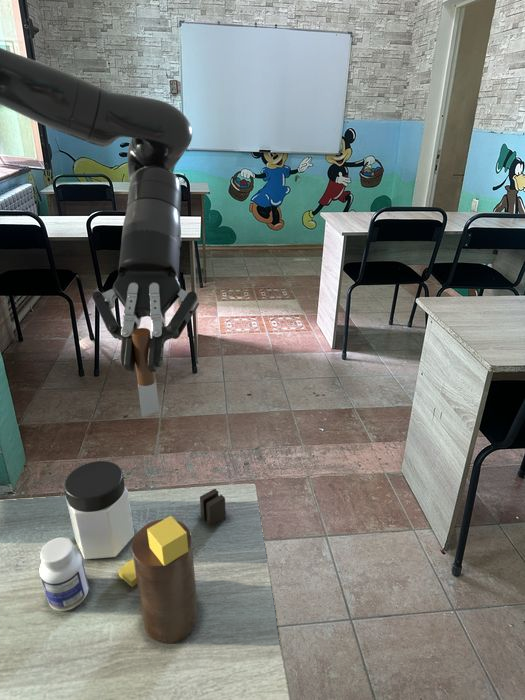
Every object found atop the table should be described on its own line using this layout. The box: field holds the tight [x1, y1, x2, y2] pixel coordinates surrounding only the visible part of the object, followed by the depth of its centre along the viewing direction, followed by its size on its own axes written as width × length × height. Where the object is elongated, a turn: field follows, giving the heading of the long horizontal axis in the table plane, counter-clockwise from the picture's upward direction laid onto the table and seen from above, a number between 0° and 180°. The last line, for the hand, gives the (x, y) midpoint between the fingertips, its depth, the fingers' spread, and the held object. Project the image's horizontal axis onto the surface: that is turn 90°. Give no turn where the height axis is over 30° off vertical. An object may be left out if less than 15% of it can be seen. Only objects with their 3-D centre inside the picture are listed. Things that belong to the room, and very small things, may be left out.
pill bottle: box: [38, 536, 89, 612], centre depth 64 cm, size 5×5×9 cm
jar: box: [63, 460, 135, 560], centre depth 72 cm, size 9×8×12 cm
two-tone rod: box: [131, 327, 160, 418], centre depth 60 cm, size 2×2×12 cm
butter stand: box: [131, 518, 199, 644], centre depth 60 cm, size 7×7×14 cm
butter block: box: [147, 515, 188, 566], centre depth 55 cm, size 3×3×3 cm
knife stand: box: [199, 488, 227, 528], centre depth 78 cm, size 3×3×4 cm
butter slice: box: [118, 558, 137, 588], centre depth 69 cm, size 1×3×3 cm
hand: (141, 369), depth 58 cm, fingers closed on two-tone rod, 2 cm apart
